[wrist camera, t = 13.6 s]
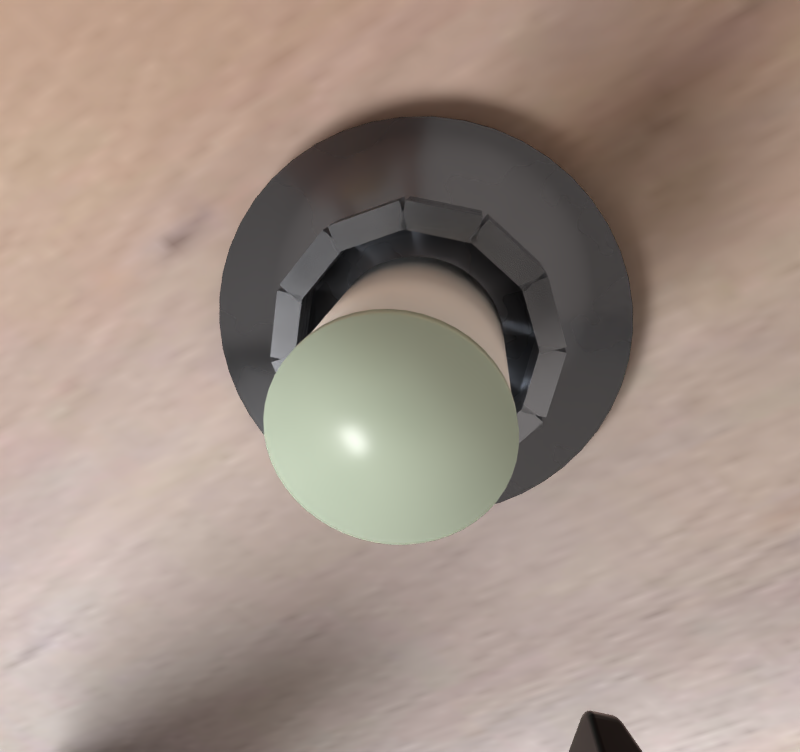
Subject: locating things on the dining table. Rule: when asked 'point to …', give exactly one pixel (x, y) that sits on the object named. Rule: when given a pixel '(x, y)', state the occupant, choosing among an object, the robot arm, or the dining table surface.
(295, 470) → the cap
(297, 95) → the dining table surface
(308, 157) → the collar
